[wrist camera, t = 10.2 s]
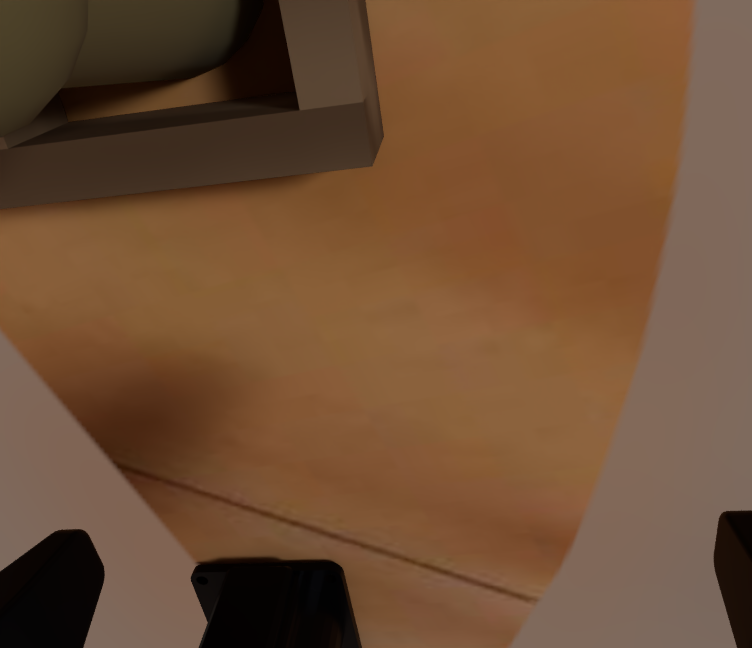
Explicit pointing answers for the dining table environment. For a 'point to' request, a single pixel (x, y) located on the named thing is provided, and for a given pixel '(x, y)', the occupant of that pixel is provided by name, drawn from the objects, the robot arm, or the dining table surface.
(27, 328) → the dining table surface
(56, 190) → the hole block
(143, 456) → the dining table surface
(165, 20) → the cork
